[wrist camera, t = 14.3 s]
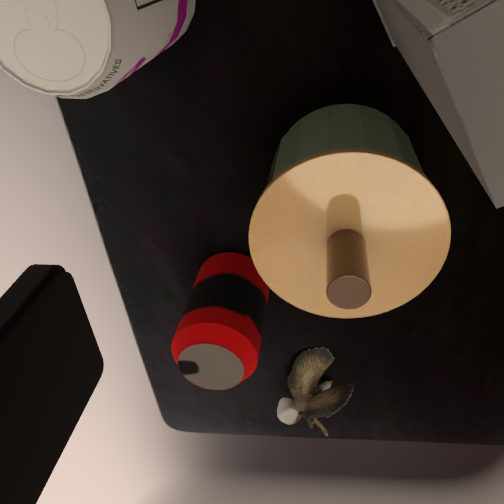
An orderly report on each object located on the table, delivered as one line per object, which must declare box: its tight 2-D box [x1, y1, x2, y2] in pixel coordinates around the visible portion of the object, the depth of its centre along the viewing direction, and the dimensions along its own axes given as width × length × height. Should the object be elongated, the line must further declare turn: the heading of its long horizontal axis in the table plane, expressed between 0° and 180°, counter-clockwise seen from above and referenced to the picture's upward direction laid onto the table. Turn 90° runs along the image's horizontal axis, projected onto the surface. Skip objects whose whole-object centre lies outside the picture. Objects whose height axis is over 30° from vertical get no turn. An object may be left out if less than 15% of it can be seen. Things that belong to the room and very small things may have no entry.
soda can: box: [171, 252, 270, 390], centre depth 43 cm, size 8×8×12 cm
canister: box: [266, 104, 423, 187], centre depth 35 cm, size 12×12×10 cm
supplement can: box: [0, 0, 195, 99], centre depth 27 cm, size 8×8×15 cm
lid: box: [249, 148, 451, 318], centre depth 29 cm, size 13×13×6 cm
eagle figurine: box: [277, 347, 354, 436], centre depth 52 cm, size 8×7×9 cm
